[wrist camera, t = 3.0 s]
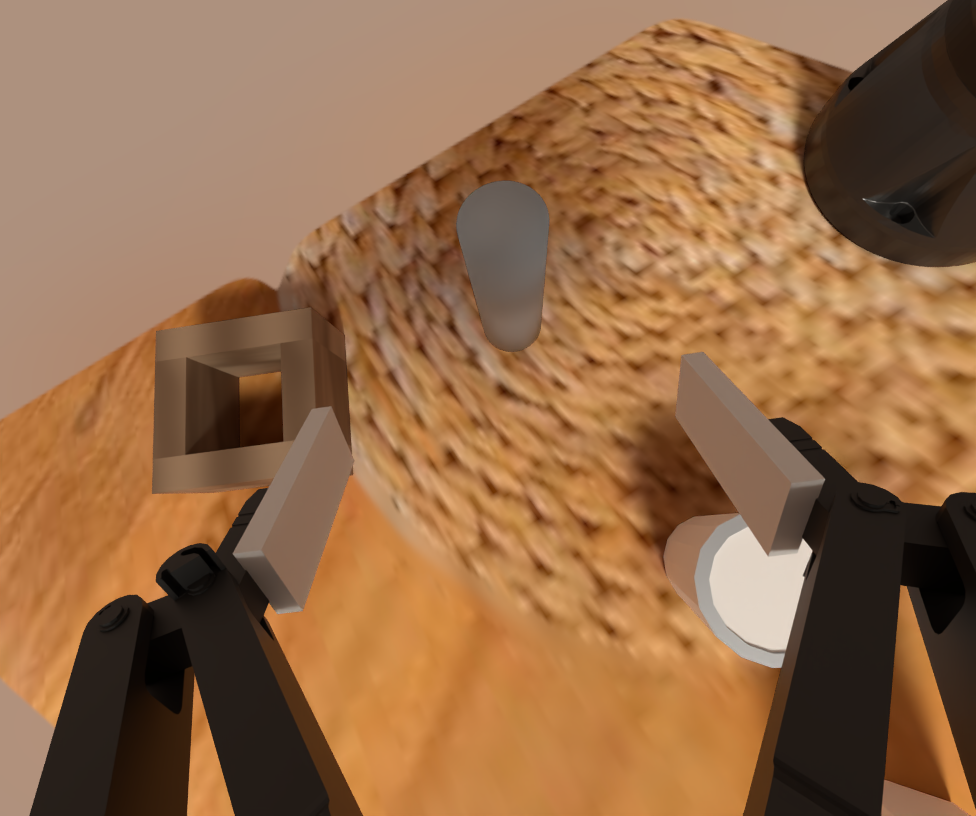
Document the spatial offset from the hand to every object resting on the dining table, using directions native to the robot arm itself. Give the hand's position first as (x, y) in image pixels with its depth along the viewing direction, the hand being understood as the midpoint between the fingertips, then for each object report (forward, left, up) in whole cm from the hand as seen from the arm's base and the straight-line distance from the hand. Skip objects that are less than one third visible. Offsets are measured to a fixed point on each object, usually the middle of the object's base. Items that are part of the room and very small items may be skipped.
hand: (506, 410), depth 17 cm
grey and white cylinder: (-11, +9, -13) cm, 19 cm away
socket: (+16, -4, -13) cm, 21 cm away
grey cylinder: (-1, -8, -13) cm, 15 cm away
